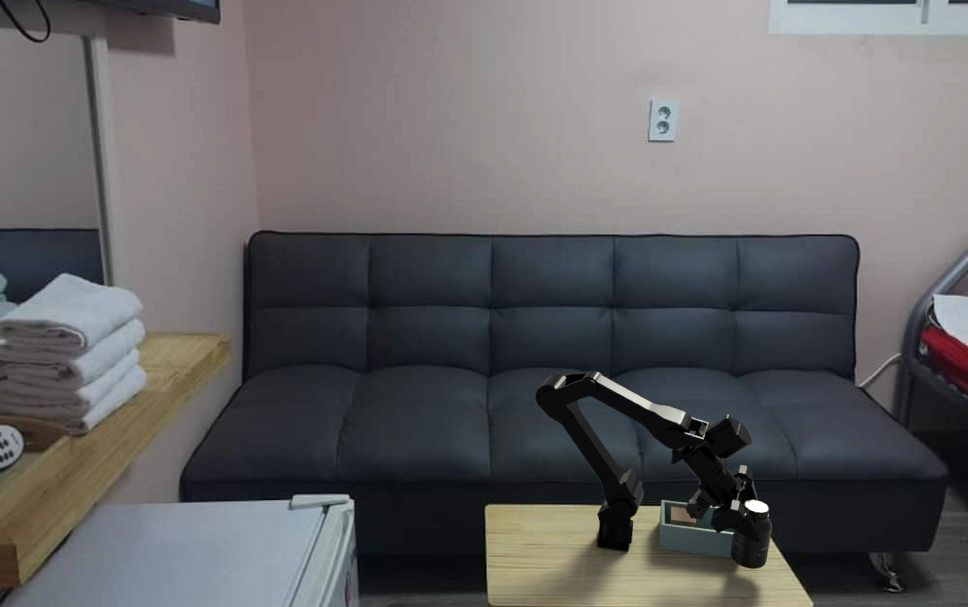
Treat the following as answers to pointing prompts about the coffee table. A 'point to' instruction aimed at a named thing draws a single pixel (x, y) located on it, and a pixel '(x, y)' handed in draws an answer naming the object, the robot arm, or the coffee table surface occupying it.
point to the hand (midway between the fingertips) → (760, 531)
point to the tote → (693, 534)
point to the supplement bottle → (745, 548)
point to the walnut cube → (681, 517)
